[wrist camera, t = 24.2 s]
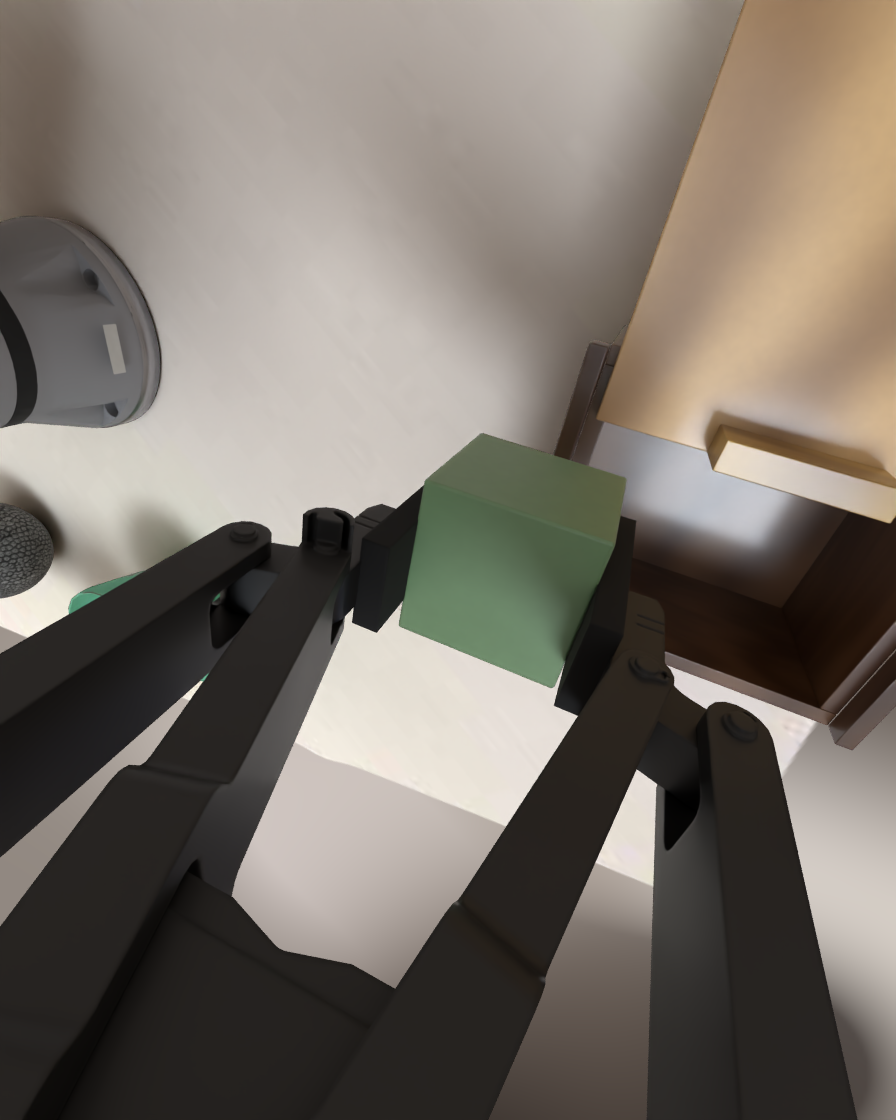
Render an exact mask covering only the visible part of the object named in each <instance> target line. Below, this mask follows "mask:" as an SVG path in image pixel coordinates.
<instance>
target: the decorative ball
mask: <svg viewBox="0 0 896 1120" xmlns="http://www.w3.org/2000/svg"><path fill="white" fill-rule="evenodd" d="M53 555H54V548H53V543H52V539H51V537H50V534H49V532H48V531H47V529H46V528H45V526H44V525H43V524H42V523H41V522H40V521H39V520H38V519H37V518H35V517H34V516H33V515H31V514H30V513H28V512H26V511H24V510H22V509H20V508H18V507H15V506H12V505H8V504H3V503H0V598H6V597H11V596H14V595H17V594H20V593H22V592H24V591H26V590H28V589H30V588H32V587H33V586H34V585H36V584H37V583H38V582H39V581H40V580H41V579H42V578H43V577H44V576H45V575H46V573H47V572H48V570H49V568H50V566H51V563H52V560H53Z"/></svg>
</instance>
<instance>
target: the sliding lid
mask: <svg viewBox="0 0 896 1120" xmlns="http://www.w3.org/2000/svg"><path fill="white" fill-rule="evenodd" d="M596 419H597V420H600V421H603V422H607V423H610V424H614V425H617V426H621V427H624V428H627V429H631V430H634V431H638V432H641V433H644V434H648V435H651V436H655V437H658V438H661V439H665V440H668V441H672V442H675V443H678V444H682V445H685V446H689V447H692V448H695V449H699V450H702V451H706V452H707V454H708V457H709V461H710V464H711V467H712V470H713V471H716V472H719V473H722V474H726V475H729V476H732V477H736V478H739V479H742V480H746V481H749V482H752V483H756V484H759V485H762V486H766V487H769V488H772V489H776V490H779V491H782V492H786V493H789V494H792V495H796V496H799V497H802V498H806V499H809V500H812V501H816V502H819V503H822V504H826V505H829V506H832V507H836V508H839V509H842V510H846V511H849V512H852V513H856V514H859V515H862V516H866V517H869V518H872V519H876V520H879V521H882V522H886V523H891V522H892V521H893V519H894V518H895V517H896V0H745V1H744V3H743V6H742V9H741V12H740V15H739V17H738V20H737V23H736V26H735V29H734V31H733V34H732V37H731V40H730V43H729V46H728V48H727V51H726V54H725V57H724V60H723V62H722V65H721V68H720V71H719V74H718V76H717V79H716V82H715V85H714V88H713V90H712V93H711V96H710V99H709V102H708V104H707V107H706V110H705V113H704V116H703V118H702V121H701V124H700V127H699V130H698V132H697V135H696V138H695V141H694V144H693V146H692V149H691V152H690V155H689V158H688V160H687V163H686V166H685V169H684V172H683V174H682V177H681V180H680V183H679V186H678V188H677V191H676V194H675V197H674V200H673V202H672V205H671V208H670V211H669V214H668V216H667V219H666V222H665V225H664V228H663V230H662V233H661V236H660V239H659V242H658V244H657V247H656V250H655V253H654V256H653V258H652V261H651V264H650V267H649V270H648V272H647V275H646V278H645V281H644V284H643V286H642V289H641V292H640V295H639V298H638V300H637V303H636V306H635V309H634V312H633V314H632V317H631V320H630V323H629V326H628V328H627V331H626V334H625V337H624V340H623V342H622V345H621V348H620V351H619V354H618V356H617V359H616V362H615V365H614V368H613V370H612V373H611V376H610V379H609V382H608V385H607V387H606V390H605V393H604V396H603V399H602V401H601V404H600V407H599V410H598V413H597V415H596Z"/></svg>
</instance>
